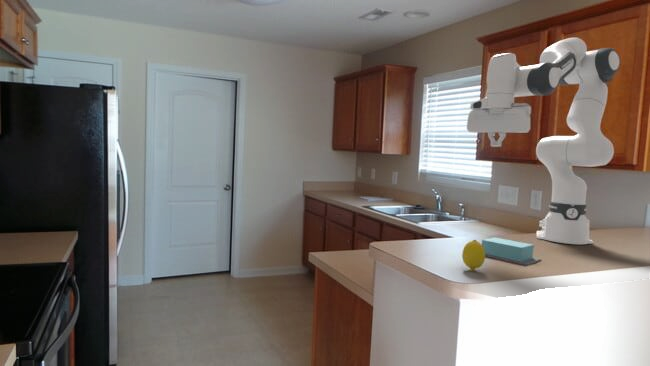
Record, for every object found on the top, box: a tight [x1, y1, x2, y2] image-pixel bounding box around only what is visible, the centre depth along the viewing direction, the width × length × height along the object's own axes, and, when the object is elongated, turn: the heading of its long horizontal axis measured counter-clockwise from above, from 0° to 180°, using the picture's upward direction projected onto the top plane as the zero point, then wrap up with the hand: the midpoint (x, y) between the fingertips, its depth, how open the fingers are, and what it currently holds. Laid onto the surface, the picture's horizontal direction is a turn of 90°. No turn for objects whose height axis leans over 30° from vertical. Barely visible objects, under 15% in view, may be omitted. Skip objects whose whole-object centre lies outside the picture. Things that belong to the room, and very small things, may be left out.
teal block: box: [481, 237, 535, 262], centre depth 132 cm, size 4×8×12 cm
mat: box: [485, 254, 542, 266], centre depth 131 cm, size 13×10×1 cm
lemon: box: [461, 239, 486, 271], centre depth 113 cm, size 6×6×8 cm
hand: (495, 146), depth 144 cm, fingers closed
